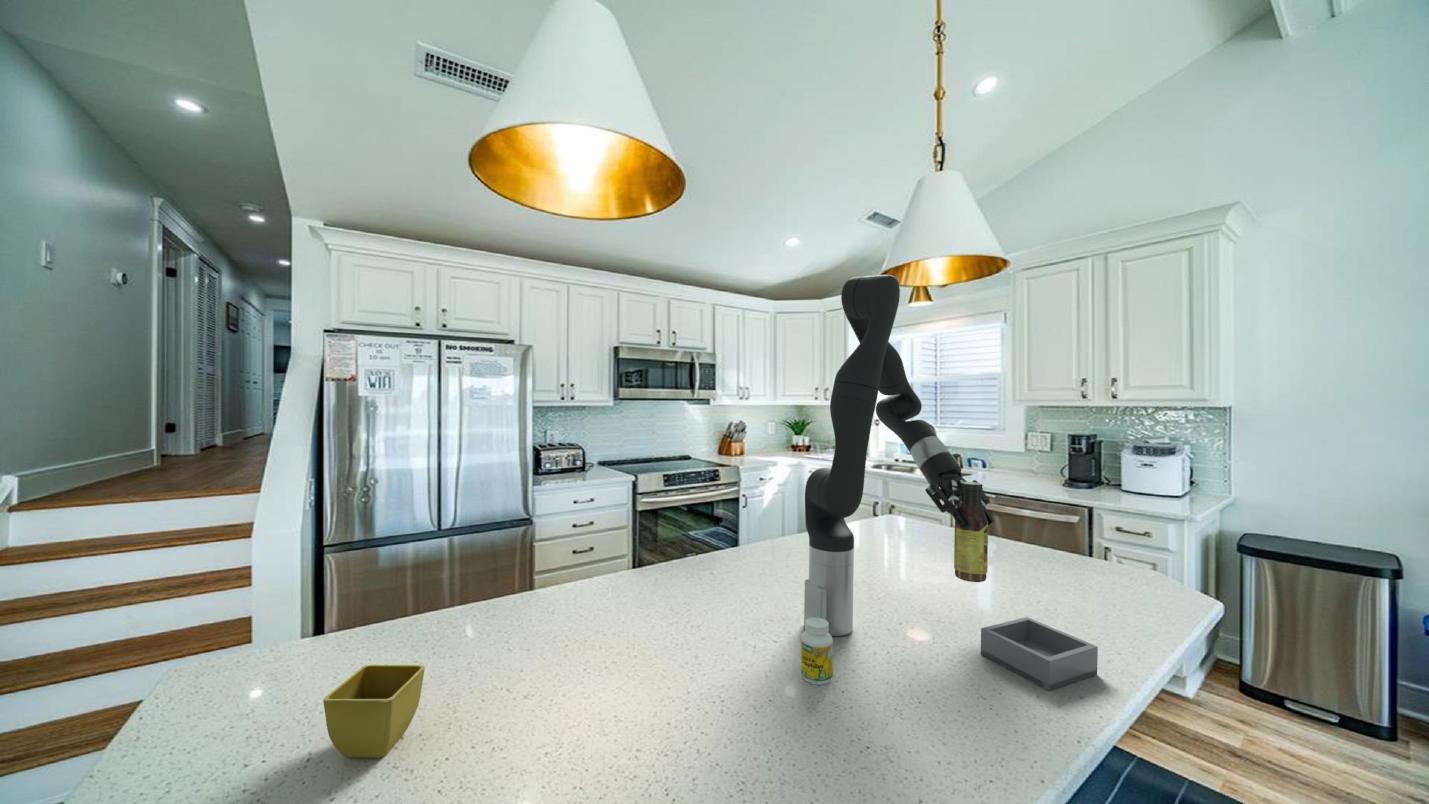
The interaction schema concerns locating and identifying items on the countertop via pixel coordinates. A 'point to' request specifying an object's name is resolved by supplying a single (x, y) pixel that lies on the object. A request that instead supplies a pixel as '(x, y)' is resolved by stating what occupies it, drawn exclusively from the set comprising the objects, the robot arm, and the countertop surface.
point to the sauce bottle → (971, 537)
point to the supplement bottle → (816, 652)
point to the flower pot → (373, 708)
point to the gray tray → (1039, 652)
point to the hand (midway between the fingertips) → (979, 525)
